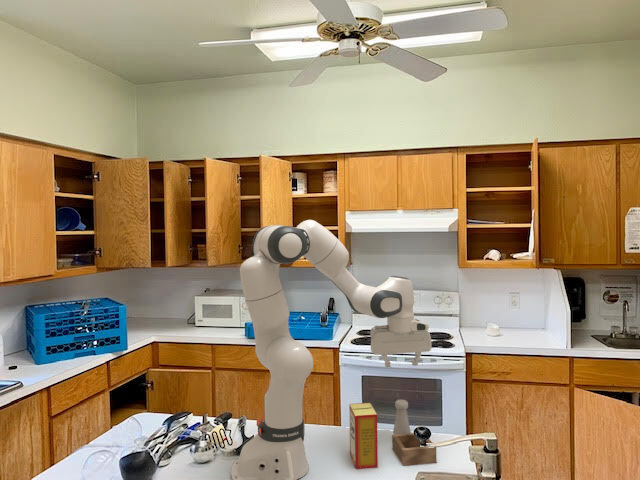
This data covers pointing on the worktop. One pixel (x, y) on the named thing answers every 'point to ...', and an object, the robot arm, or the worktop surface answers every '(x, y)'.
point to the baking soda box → (363, 436)
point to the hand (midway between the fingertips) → (401, 365)
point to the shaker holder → (412, 450)
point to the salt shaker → (401, 418)
